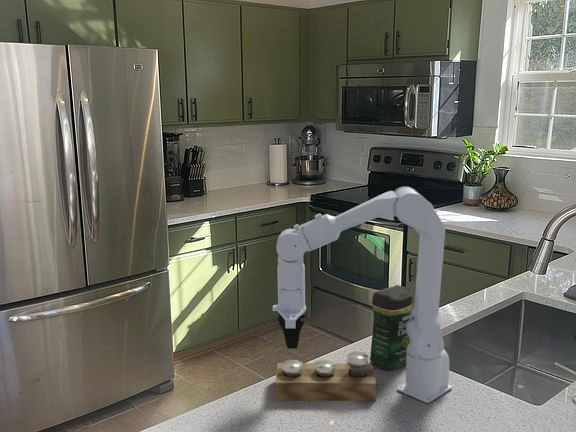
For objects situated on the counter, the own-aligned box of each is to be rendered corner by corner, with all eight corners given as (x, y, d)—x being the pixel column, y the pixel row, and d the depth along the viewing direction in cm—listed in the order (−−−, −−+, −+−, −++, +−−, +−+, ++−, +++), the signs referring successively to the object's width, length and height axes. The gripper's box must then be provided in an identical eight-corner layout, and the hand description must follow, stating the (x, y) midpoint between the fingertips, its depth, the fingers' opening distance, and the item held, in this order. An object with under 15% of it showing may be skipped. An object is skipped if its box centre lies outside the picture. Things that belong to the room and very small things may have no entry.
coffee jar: (391, 374, 128) (393, 297, 125) (364, 363, 134) (365, 289, 130) (416, 361, 134) (419, 287, 131) (390, 351, 140) (392, 280, 137)
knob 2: (366, 375, 123) (366, 351, 122) (368, 385, 119) (368, 360, 118) (346, 375, 123) (346, 351, 122) (347, 385, 119) (347, 360, 118)
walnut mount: (371, 380, 126) (371, 363, 125) (375, 401, 117) (376, 383, 116) (278, 379, 127) (277, 363, 126) (275, 400, 118) (274, 382, 117)
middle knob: (334, 383, 124) (334, 360, 123) (335, 393, 119) (335, 369, 118) (314, 383, 124) (314, 360, 123) (314, 393, 120) (314, 369, 119)
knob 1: (303, 383, 124) (302, 359, 123) (302, 393, 120) (302, 369, 119) (283, 383, 124) (282, 359, 123) (282, 393, 120) (281, 369, 119)
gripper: (274, 276, 125) (275, 333, 127) (269, 298, 111) (271, 362, 113) (306, 276, 124) (306, 333, 127) (305, 298, 110) (306, 362, 113)
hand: (292, 347), depth 120 cm, fingers closed
